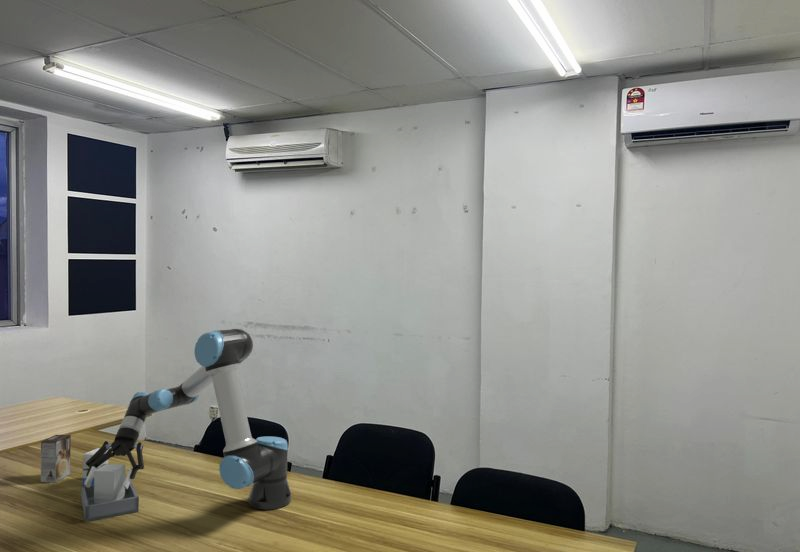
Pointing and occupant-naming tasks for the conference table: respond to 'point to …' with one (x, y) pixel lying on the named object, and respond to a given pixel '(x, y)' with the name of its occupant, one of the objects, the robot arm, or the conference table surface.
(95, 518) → the tote
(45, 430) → the conference table surface
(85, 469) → the ink box
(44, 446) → the coffee box
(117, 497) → the supplement box
